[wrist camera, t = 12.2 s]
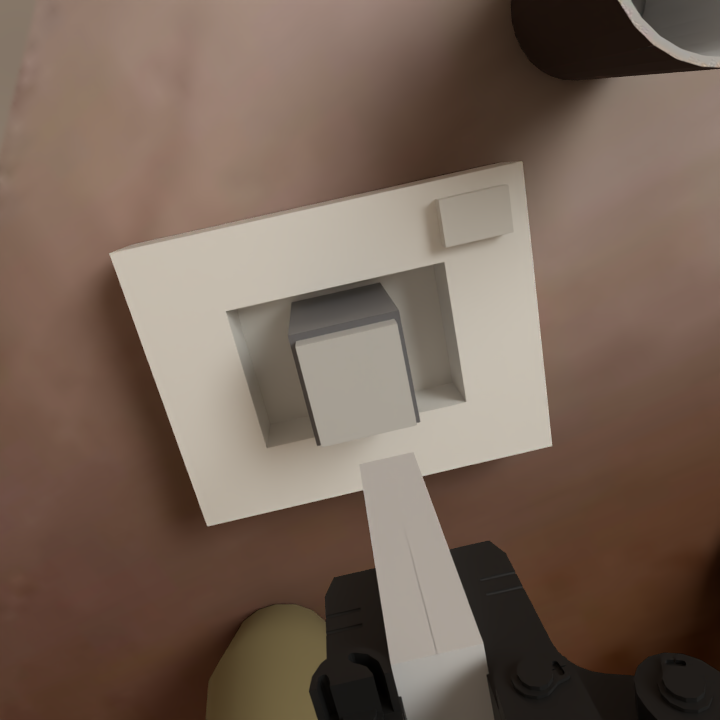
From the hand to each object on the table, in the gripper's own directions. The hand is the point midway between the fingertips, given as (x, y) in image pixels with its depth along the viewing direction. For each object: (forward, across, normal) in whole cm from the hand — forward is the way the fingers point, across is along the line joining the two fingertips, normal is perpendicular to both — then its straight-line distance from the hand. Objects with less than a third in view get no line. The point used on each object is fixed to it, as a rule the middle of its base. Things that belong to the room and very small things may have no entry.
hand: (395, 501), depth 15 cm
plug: (+14, 0, -1) cm, 14 cm away
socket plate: (+14, 0, -1) cm, 14 cm away
